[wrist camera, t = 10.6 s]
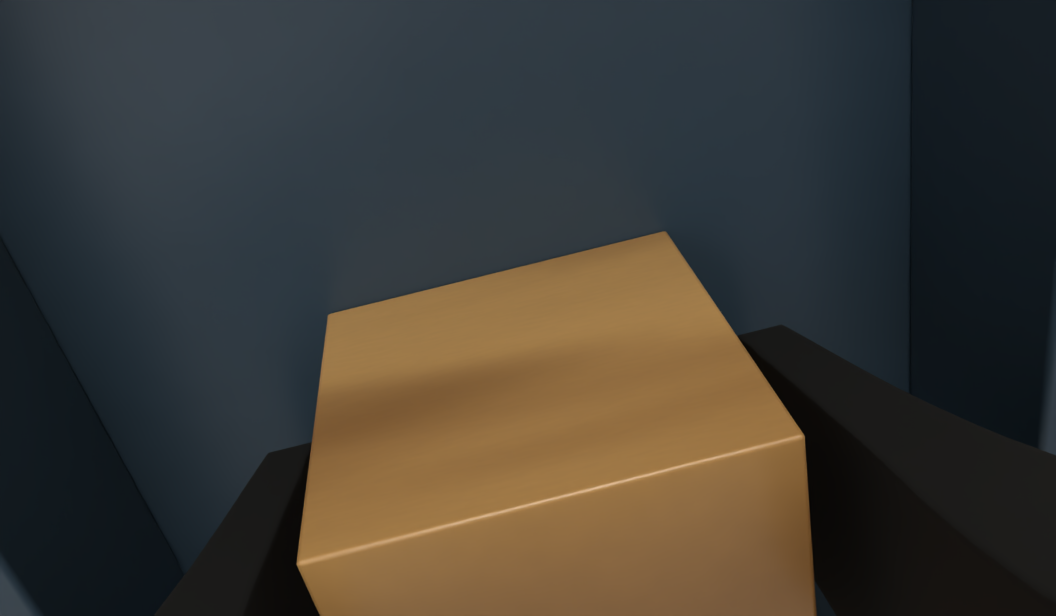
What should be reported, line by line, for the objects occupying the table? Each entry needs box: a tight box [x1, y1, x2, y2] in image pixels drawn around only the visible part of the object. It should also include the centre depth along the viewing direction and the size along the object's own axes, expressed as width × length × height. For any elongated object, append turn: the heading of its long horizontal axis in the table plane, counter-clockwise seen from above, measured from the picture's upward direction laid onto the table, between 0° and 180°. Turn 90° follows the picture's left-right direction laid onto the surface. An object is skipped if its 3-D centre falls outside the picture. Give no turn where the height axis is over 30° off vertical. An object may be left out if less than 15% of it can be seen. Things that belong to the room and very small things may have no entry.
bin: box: [0, 0, 1056, 616], centre depth 10 cm, size 14×12×4 cm
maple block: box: [296, 231, 817, 616], centre depth 11 cm, size 4×4×4 cm
